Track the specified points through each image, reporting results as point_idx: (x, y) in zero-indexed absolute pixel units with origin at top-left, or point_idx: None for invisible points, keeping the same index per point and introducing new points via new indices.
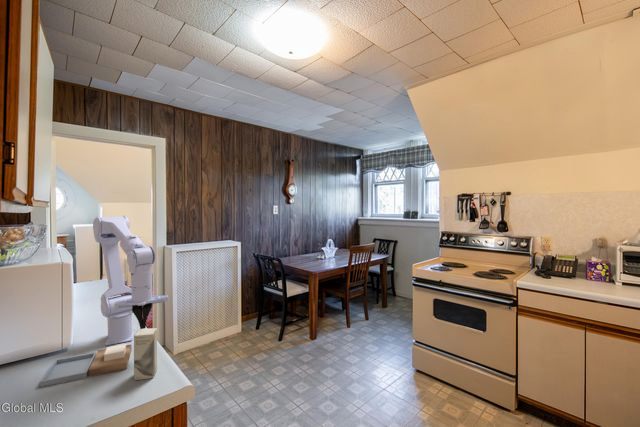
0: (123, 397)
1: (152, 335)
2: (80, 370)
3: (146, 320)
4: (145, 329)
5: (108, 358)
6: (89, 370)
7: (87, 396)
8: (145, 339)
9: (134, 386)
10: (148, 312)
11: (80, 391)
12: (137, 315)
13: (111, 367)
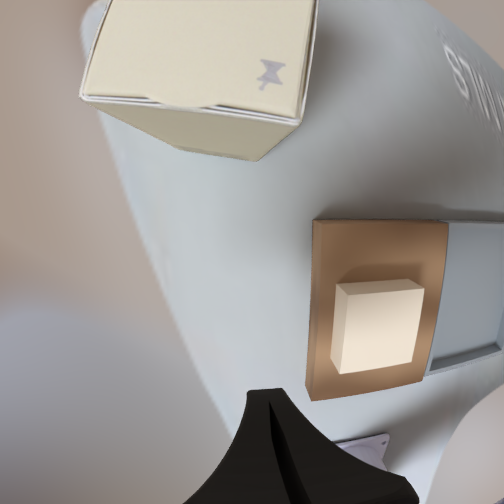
0: None
1: None
2: (456, 277)
3: (238, 430)
4: (208, 75)
5: (398, 282)
6: (445, 223)
7: (408, 79)
8: None
9: None
10: (212, 486)
11: (436, 127)
12: (338, 462)
13: (376, 222)
